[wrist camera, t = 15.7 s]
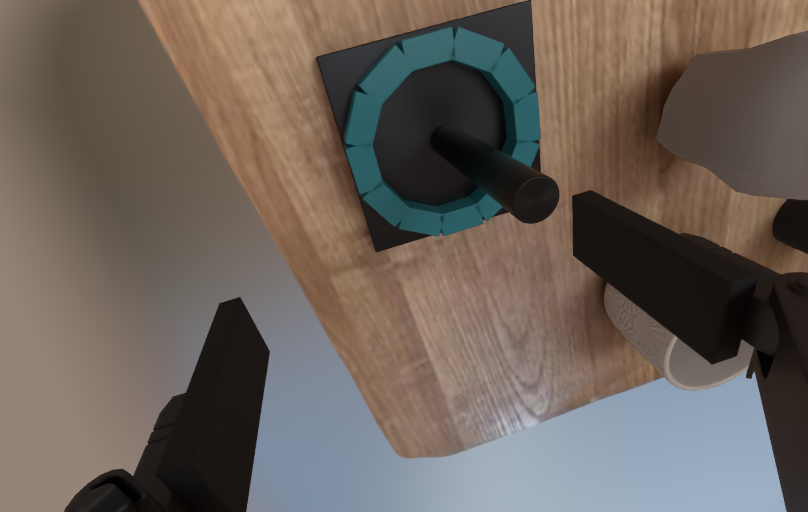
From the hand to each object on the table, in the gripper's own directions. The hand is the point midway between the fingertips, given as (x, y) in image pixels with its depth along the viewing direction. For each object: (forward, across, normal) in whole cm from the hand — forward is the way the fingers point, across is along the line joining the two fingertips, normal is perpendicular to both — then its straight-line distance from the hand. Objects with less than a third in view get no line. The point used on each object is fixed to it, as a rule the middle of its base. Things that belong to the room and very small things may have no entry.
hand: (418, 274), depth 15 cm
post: (+20, +7, 0) cm, 21 cm away
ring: (+18, +6, 0) cm, 19 cm away
